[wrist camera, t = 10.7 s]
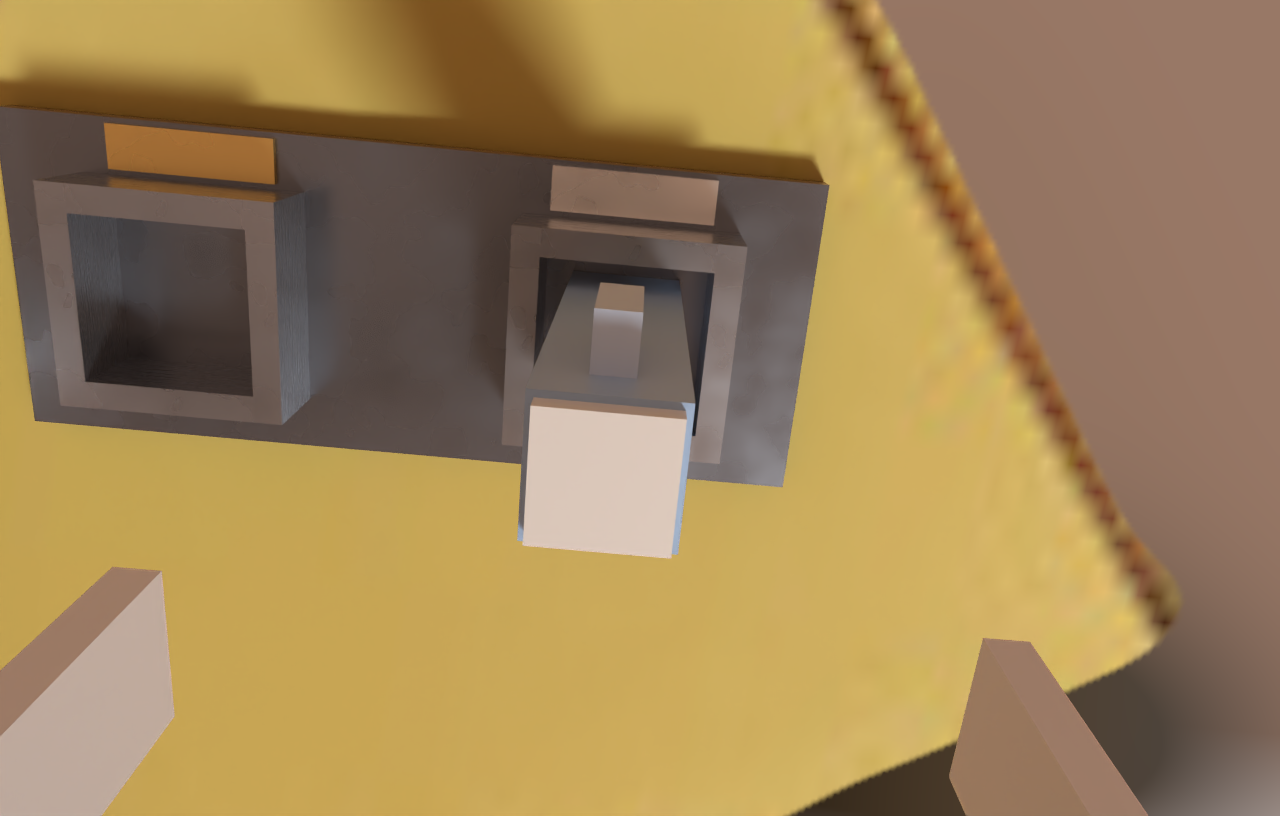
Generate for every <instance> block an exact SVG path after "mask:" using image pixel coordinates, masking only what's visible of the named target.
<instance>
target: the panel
mask: <svg viewBox="0 0 1280 816" xmlns="http://www.w3.org/2000/svg"><path fill="white" fill-rule="evenodd" d="M0 161H1V168H2V176H3V184H4V191H5V199H6V206H7V214H8V221H9V229H10V236H11V244H12V251H13V259H14V266H15V274H16V282H17V289H18V297H19V304H20V312H21V319H22V327H23V334H24V342H25V349H26V357H27V365H28V372H29V380H30V387H31V395H32V402H33V410H34V417H35V421H43V422H54V423H65V424H76V425H88V426H99V427H110V428H121V429H133V430H144V431H155V432H167V433H178V434H189V435H200V436H212V437H223V438H234V439H245V440H257V441H268V442H279V443H291V444H302V445H313V446H324V447H336V448H347V449H358V450H370V451H381V452H392V453H403V454H415V455H426V456H437V457H448V458H460V459H471V460H482V461H494V462H505V463H516V464H522V445H523V426H524V407H525V388H526V386H527V383H528V381H529V378H530V376H531V374H532V371H533V369H534V366H535V364H536V361H537V359H538V356H539V354H540V351H541V349H542V346H543V344H544V341H545V339H546V336H547V334H548V332H549V329H550V327H551V324H552V322H553V319H554V317H555V314H556V312H557V309H558V307H559V304H560V302H561V299H562V297H563V294H564V292H565V290H566V287H567V285H568V282H569V280H570V277H571V275H572V272H573V271H581V272H592V273H603V274H614V275H625V276H635V277H646V278H657V279H668V280H679V281H680V288H681V296H682V304H683V311H684V319H685V327H686V334H687V342H688V350H689V358H690V365H691V373H692V381H693V388H694V396H695V412H694V421H693V429H692V438H691V446H690V455H689V463H688V472H687V479H696V480H708V481H719V482H730V483H742V484H753V485H764V486H775V487H783V481H784V474H785V468H786V461H787V455H788V448H789V442H790V435H791V429H792V422H793V416H794V410H795V403H796V397H797V390H798V384H799V377H800V371H801V364H802V358H803V352H804V345H805V339H806V332H807V326H808V319H809V313H810V306H811V300H812V293H813V287H814V281H815V274H816V268H817V261H818V255H819V248H820V242H821V235H822V229H823V222H824V216H825V210H826V203H827V197H828V190H829V185H828V184H826V183H825V182H816V181H806V180H795V179H785V178H774V177H764V176H753V175H742V174H732V173H721V172H711V171H700V170H690V169H679V168H669V167H658V166H647V165H637V164H626V163H616V162H605V161H595V160H584V159H574V158H563V157H552V156H542V155H531V154H521V153H510V152H500V151H489V150H479V149H468V148H458V147H447V146H436V145H426V144H415V143H405V142H394V141H384V140H373V139H363V138H352V137H341V136H331V135H320V134H310V133H299V132H289V131H278V130H268V129H257V128H246V127H236V126H225V125H215V124H204V123H194V122H183V121H173V120H162V119H152V118H141V117H130V116H120V115H109V114H99V113H88V112H78V111H67V110H57V109H46V108H35V107H25V106H14V105H5V106H0Z"/></svg>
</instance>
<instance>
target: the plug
mask: <svg viewBox="0 0 1280 816" xmlns="http://www.w3.org/2000/svg"><path fill="white" fill-rule="evenodd" d="M694 412H695V396H694V388H693V381H692V373H691V365H690V358H689V350H688V342H687V334H686V327H685V319H684V311H683V304H682V296H681V288H680V281H679V280H668V279H657V278H646V277H635V276H625V275H614V274H603V273H592V272H581V271H573V272H572V275H571V277H570V280H569V282H568V285H567V287H566V290H565V292H564V294H563V297H562V299H561V302H560V304H559V307H558V309H557V312H556V314H555V317H554V319H553V322H552V324H551V327H550V329H549V332H548V334H547V336H546V339H545V341H544V344H543V346H542V349H541V351H540V354H539V356H538V359H537V361H536V364H535V366H534V369H533V371H532V374H531V376H530V378H529V381H528V383H527V386H526V388H525V407H524V426H523V445H522V464H521V483H520V502H519V521H518V540H517V541H523V546H534V547H545V548H557V549H568V550H580V551H591V552H602V553H614V554H625V555H637V556H648V557H660V558H671V555H672V554H677V555H678V549H679V540H680V531H681V523H682V514H683V506H684V497H685V489H686V480H687V472H688V463H689V455H690V446H691V438H692V429H693V421H694Z"/></svg>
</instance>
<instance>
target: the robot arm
mask: <svg viewBox="0 0 1280 816" xmlns="http://www.w3.org/2000/svg"><path fill="white" fill-rule="evenodd" d="M173 718H174V705H173V694H172V683H171V671H170V660H169V649H168V637H167V626H166V615H165V603H164V592H163V581H162V571H155V570H143V569H131V568H118V567H112V568H111V569H110V570H109V571H108V572H107V573H106V574H104V575H103V576H102V577H101V578H100V579H99V580H98V581H97V582H96V583H95V584H94V585H93V586H91V587H90V588H89V589H88V590H87V591H86V592H85V593H84V594H83V595H82V596H81V597H80V598H78V599H77V600H76V601H75V602H74V603H73V604H72V605H71V606H70V607H69V608H68V609H67V610H65V611H64V612H63V613H62V614H61V615H60V616H59V617H58V618H57V619H56V620H55V621H54V622H52V623H51V624H50V625H49V626H48V627H47V628H46V629H45V630H44V631H43V632H42V633H41V634H39V635H38V636H37V637H36V638H35V639H34V640H33V641H32V642H31V643H30V644H29V645H28V646H26V647H25V648H24V649H23V650H22V651H21V652H20V653H19V654H18V655H17V656H16V657H15V658H13V659H12V660H11V661H10V662H9V663H8V664H7V665H6V666H5V667H4V668H3V669H2V670H0V816H102V814H103V813H104V812H105V810H106V809H107V808H108V806H109V805H110V803H111V802H112V801H113V799H114V798H115V797H116V795H117V794H118V793H119V791H120V790H121V788H122V787H123V786H124V784H125V783H126V782H127V780H128V779H129V778H130V776H131V775H132V773H133V772H134V771H135V769H136V768H137V767H138V765H139V764H140V763H141V761H142V760H143V759H144V757H145V756H146V754H147V753H148V752H149V750H150V749H151V748H152V746H153V745H154V744H155V742H156V741H157V739H158V738H159V737H160V735H161V734H162V733H163V731H164V730H165V729H166V727H167V726H168V724H169V723H170V722H171V720H172V719H173ZM949 777H950V780H951V782H952V784H953V787H954V789H955V791H956V794H957V796H958V798H959V800H960V803H961V805H962V807H963V810H964V812H965V814H966V816H1148V815H1147V813H1146V812H1145V810H1144V809H1143V807H1142V806H1141V804H1140V803H1139V801H1138V800H1137V798H1136V797H1135V795H1134V794H1133V793H1132V791H1131V790H1130V788H1129V787H1128V785H1127V784H1126V783H1125V781H1124V779H1123V778H1122V776H1121V775H1120V774H1119V772H1118V770H1117V769H1116V768H1115V766H1114V765H1113V763H1112V762H1111V760H1110V759H1109V757H1108V756H1107V754H1106V753H1105V752H1104V750H1103V749H1102V747H1101V746H1100V744H1099V743H1098V741H1097V740H1096V738H1095V737H1094V735H1093V734H1092V732H1091V731H1090V729H1089V728H1088V726H1087V725H1086V724H1085V722H1084V721H1083V719H1082V718H1081V716H1080V715H1079V713H1078V712H1077V710H1076V709H1075V707H1074V706H1073V704H1072V703H1071V702H1070V700H1069V699H1068V697H1067V696H1066V694H1065V693H1064V691H1063V690H1062V688H1061V687H1060V685H1059V684H1058V682H1057V681H1056V679H1055V678H1054V677H1053V675H1052V674H1051V672H1050V671H1049V669H1048V668H1047V666H1046V665H1045V663H1044V662H1043V660H1042V659H1041V657H1040V656H1039V655H1038V653H1037V652H1036V650H1035V649H1034V647H1033V646H1032V644H1031V643H1030V642H1024V641H1012V640H1000V639H988V638H983V641H982V645H981V649H980V653H979V657H978V661H977V665H976V669H975V673H974V677H973V681H972V685H971V689H970V694H969V698H968V702H967V706H966V710H965V714H964V718H963V722H962V726H961V730H960V734H959V738H958V742H957V746H956V750H955V754H954V758H953V763H952V767H951V771H950V775H949Z"/></svg>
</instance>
